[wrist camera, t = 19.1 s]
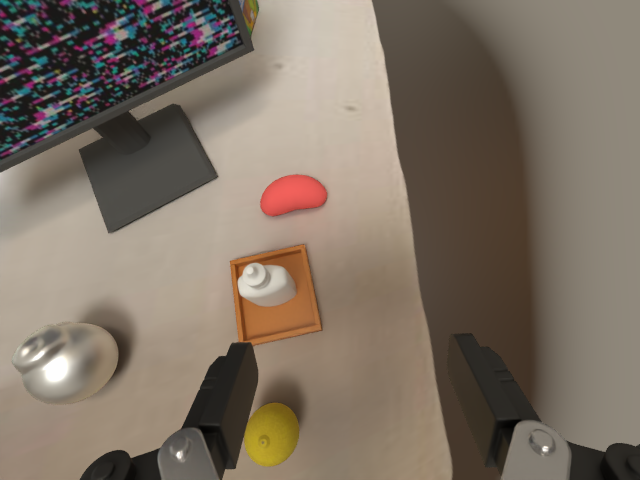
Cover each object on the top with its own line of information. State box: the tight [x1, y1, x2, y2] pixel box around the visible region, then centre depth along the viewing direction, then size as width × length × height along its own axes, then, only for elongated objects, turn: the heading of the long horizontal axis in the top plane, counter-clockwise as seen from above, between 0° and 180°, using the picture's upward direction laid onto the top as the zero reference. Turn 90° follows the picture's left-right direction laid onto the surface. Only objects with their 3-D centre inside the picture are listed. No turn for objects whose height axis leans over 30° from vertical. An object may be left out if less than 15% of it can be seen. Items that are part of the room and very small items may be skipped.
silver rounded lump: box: [12, 322, 119, 405], centre depth 36 cm, size 9×10×10 cm
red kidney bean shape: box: [260, 175, 327, 216], centre depth 44 cm, size 5×9×6 cm
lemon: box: [244, 403, 299, 466], centre depth 33 cm, size 6×6×8 cm
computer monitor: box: [0, 0, 254, 233], centre depth 32 cm, size 44×16×40 cm, turn 120°
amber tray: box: [230, 244, 322, 346], centre depth 41 cm, size 11×10×2 cm
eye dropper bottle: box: [238, 263, 297, 307], centre depth 36 cm, size 4×6×12 cm
